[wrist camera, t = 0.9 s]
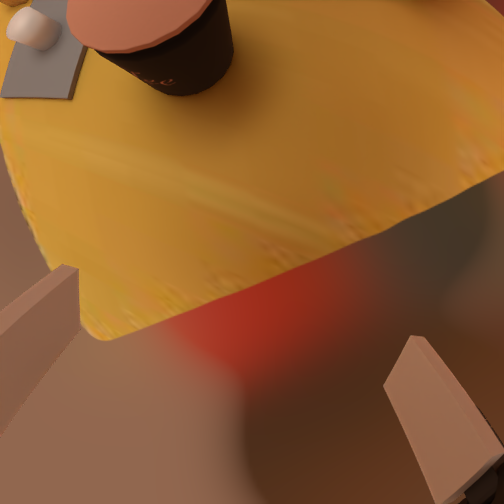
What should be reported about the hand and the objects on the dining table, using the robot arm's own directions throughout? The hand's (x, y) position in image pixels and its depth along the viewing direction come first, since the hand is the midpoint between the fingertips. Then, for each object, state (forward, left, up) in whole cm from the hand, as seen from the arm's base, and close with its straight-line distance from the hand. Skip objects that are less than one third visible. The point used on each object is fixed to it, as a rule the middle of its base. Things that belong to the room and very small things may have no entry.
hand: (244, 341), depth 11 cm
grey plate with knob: (-18, -32, -26) cm, 45 cm away
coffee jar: (-16, -11, -26) cm, 33 cm away
